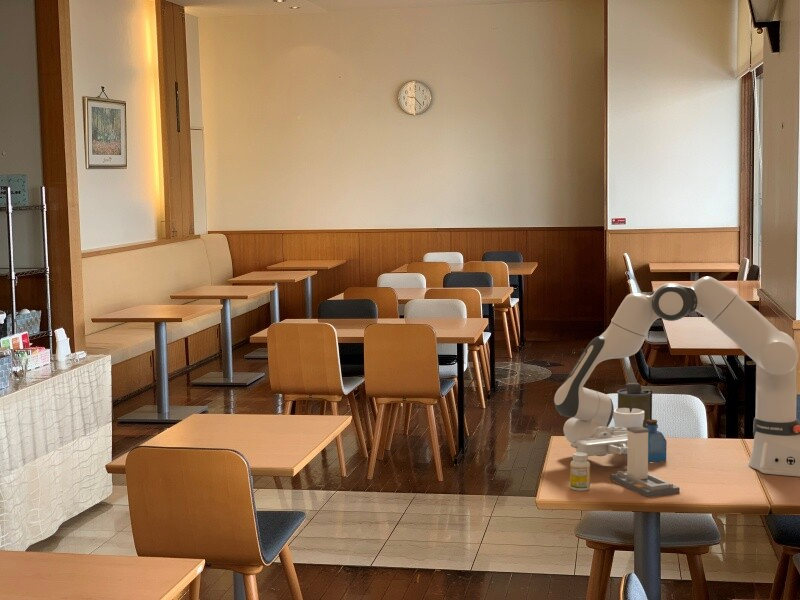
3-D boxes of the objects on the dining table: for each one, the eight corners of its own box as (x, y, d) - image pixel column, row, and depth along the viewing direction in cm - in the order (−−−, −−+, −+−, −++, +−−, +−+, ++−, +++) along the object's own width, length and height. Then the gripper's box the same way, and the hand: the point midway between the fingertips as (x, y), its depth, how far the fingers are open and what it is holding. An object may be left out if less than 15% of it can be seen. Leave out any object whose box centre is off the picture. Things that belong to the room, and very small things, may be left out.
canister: (624, 450, 322) (624, 387, 320) (611, 442, 333) (612, 381, 331) (657, 448, 324) (657, 385, 322) (643, 440, 334) (644, 379, 332)
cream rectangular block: (626, 476, 287) (627, 427, 286) (639, 474, 289) (640, 426, 287) (635, 480, 283) (635, 430, 282) (648, 478, 285) (648, 429, 283)
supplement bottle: (582, 492, 278) (582, 457, 277) (566, 488, 282) (566, 454, 281) (594, 488, 282) (594, 453, 281) (578, 484, 286) (578, 450, 285)
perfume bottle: (654, 456, 315) (655, 417, 314) (666, 461, 309) (666, 421, 308) (637, 458, 313) (637, 419, 312) (648, 463, 307) (648, 423, 306)
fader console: (611, 479, 290) (611, 471, 289) (641, 476, 293) (641, 467, 293) (647, 497, 273) (647, 488, 273) (679, 493, 276) (679, 483, 276)
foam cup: (641, 457, 314) (642, 414, 313) (611, 454, 317) (611, 413, 316) (645, 449, 323) (645, 408, 322) (615, 447, 326) (615, 407, 325)
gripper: (567, 433, 301) (592, 443, 288) (628, 426, 308) (655, 436, 295) (567, 454, 302) (592, 466, 289) (628, 447, 309) (655, 458, 296)
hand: (624, 451), depth 292 cm, fingers closed
